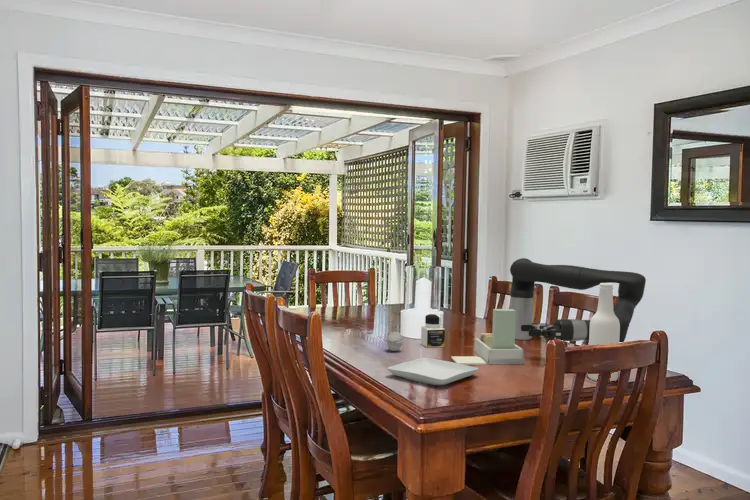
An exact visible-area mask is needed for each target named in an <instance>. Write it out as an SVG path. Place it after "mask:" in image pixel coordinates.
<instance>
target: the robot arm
mask: <svg viewBox="0 0 750 500" xmlns="http://www.w3.org/2000/svg"><path fill="white" fill-rule="evenodd" d="M509 272H510V275H511V276H512V277H511V278H512V279H511V280H512V282H511V289H510V306H509V309H513V310H515V311H516V322H515V340H519V341H523V340H526V341H527V340H532V339H533V337H541V338H544V339H556V340H557V339H561V340H563V341H562V342H579V341H580V342H582V341H589V330H590V321H591V319H577V318H576V319H573V318H572V319H571V318H570V319H568V318H564V319H559V318H558V319H556V320H555V321H554V324H553V325H552V324H551V323H547V322H542V323H541V322H538V323H537V322H536V323H535V322H533V317H534V315H533V313H534V294H535V293H534V292H535V283H545V284H549V285H552V286H557V287H561V288H566V289H571V290H579V291H583V290H584V291H585V290H588V289H591V288H594V287H596V286H600V283H612V284H615V283H616V284H618V289H617V294H618V297H619V298H618V297H617V298H618V301H617V302H616V303H615V304H614V305H613V311H614V314H615V315H616V317H617V318H618V320H619V323H620V339H619V342H623V343H624V342H625V341H626V338H627V333H628V330H629V328H630V327H629V326H630V324H631V322H632V319H633V315H634V312H635V309H636V307H637V306H638V304H639V303H640V302H641V300H642V299H643V296H644V292H645V288H646V287H645V286H646V281H647V280H646V277H645V276H644V275H643V274H641V273H638V272H632V271H619V270H605V269H597V268H592V267H591V268H589V267H584V266H580V265H578V266H577V265H572V264H571V265H569V264H544V263H537V262H534V261H532V260H531V259H529V258H525V257H523V258H522V257H521V258H519V259H517V260H514V261H513V262H512V264H511V266H510V268H509Z"/></svg>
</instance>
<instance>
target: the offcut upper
mask: <svg viewBox="0 0 750 500" xmlns="http://www.w3.org/2000/svg"><path fill="white" fill-rule="evenodd" d="M479 338H480V339H479V340H481V341H483V342H484V343H492V332H491V333H490V332H489V333H488V332H485V333H482V332H481V333H480V337H479Z"/></svg>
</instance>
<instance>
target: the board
mask: <svg viewBox="0 0 750 500" xmlns="http://www.w3.org/2000/svg"><path fill="white" fill-rule="evenodd" d="M515 322H516V311H515V310H513V309H510V308H494V309H492V332H491V333H492V349H515V344H516V339H515Z"/></svg>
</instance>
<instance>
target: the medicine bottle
mask: <svg viewBox="0 0 750 500" xmlns="http://www.w3.org/2000/svg"><path fill="white" fill-rule="evenodd" d="M424 318H425V319H424V320H425V321H424V322H425V325H421V326H420V327H421V329H420V330H421V331H420V332H421V333H420V334H421V335H420V344H421V345H422V346H424V347H426V348H427V349H428V348H429V349H430V348H444V347H445V340H446V339H445V338H446V337H445V336H446V335H445V333H446V329H445V328H443V326H442V316H441V315H439V314H434V313H433V314H432V313H430V314H427V315H425V317H424Z"/></svg>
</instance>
